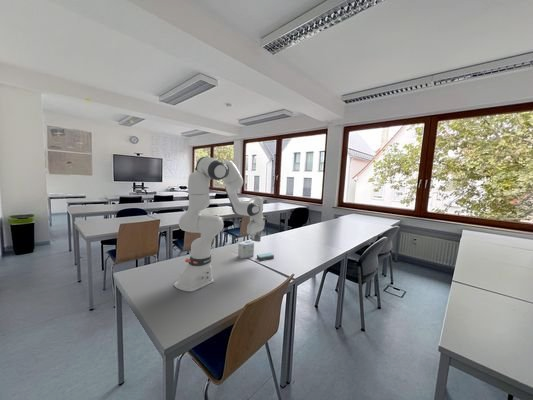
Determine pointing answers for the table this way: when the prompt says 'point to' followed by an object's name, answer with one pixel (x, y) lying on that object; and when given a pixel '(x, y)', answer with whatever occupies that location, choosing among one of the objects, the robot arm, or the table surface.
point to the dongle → (256, 238)
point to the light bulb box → (245, 249)
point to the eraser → (265, 256)
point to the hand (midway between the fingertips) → (255, 238)
